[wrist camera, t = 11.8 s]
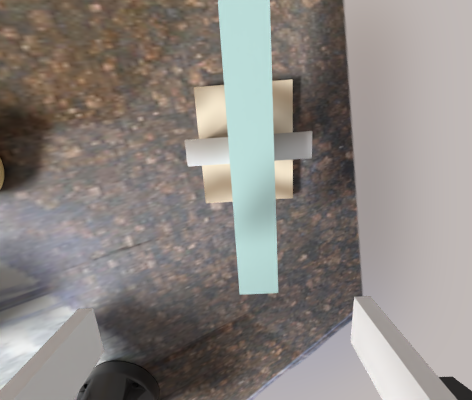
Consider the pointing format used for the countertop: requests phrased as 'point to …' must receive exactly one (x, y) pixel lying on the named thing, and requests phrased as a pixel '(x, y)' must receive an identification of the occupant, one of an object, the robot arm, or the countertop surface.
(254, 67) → the beam
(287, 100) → the balance stand
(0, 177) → the sculpture
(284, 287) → the countertop surface
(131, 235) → the countertop surface
